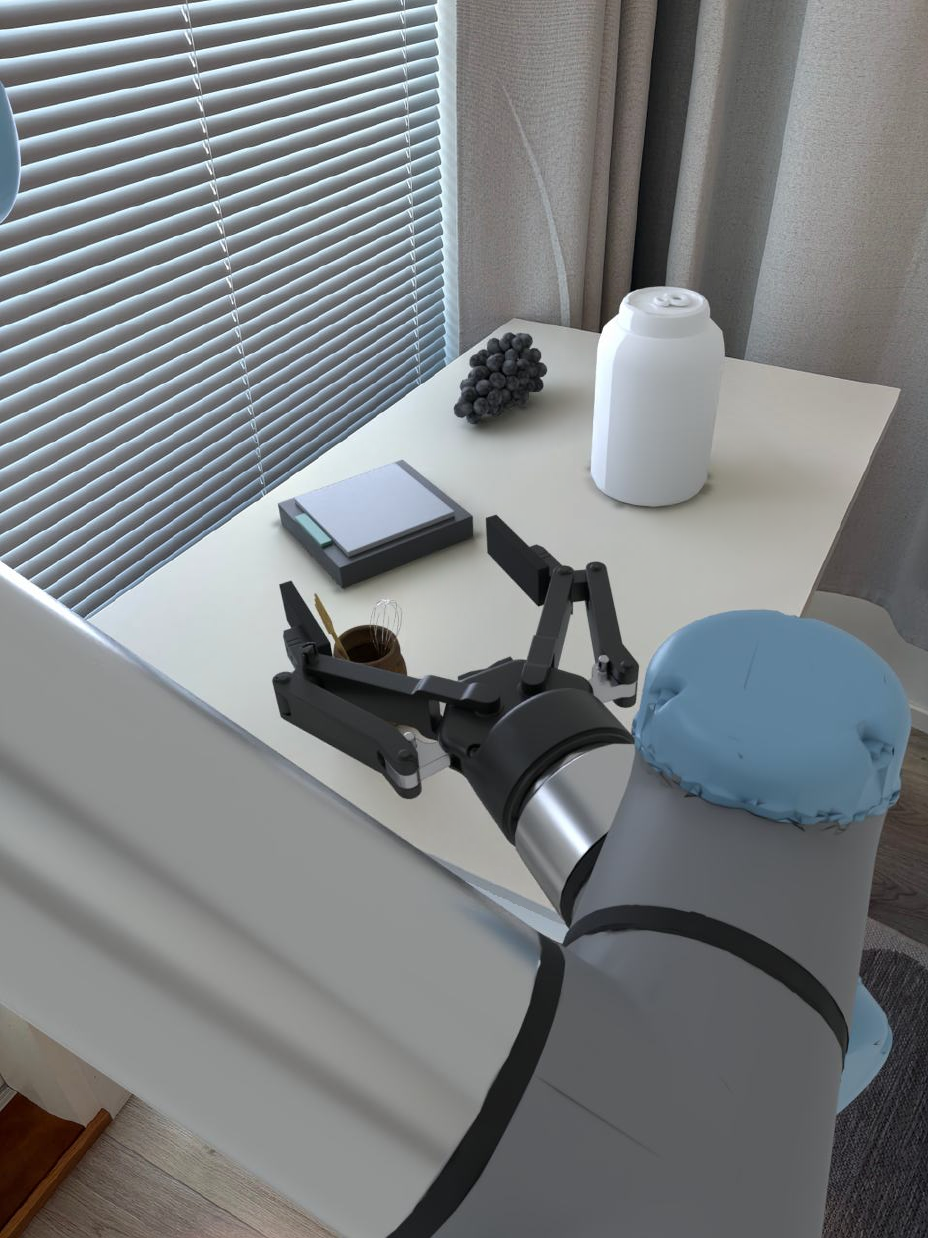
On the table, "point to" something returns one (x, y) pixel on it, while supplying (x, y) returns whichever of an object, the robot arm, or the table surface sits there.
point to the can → (656, 397)
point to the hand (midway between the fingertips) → (393, 565)
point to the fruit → (500, 377)
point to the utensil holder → (367, 644)
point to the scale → (375, 522)
